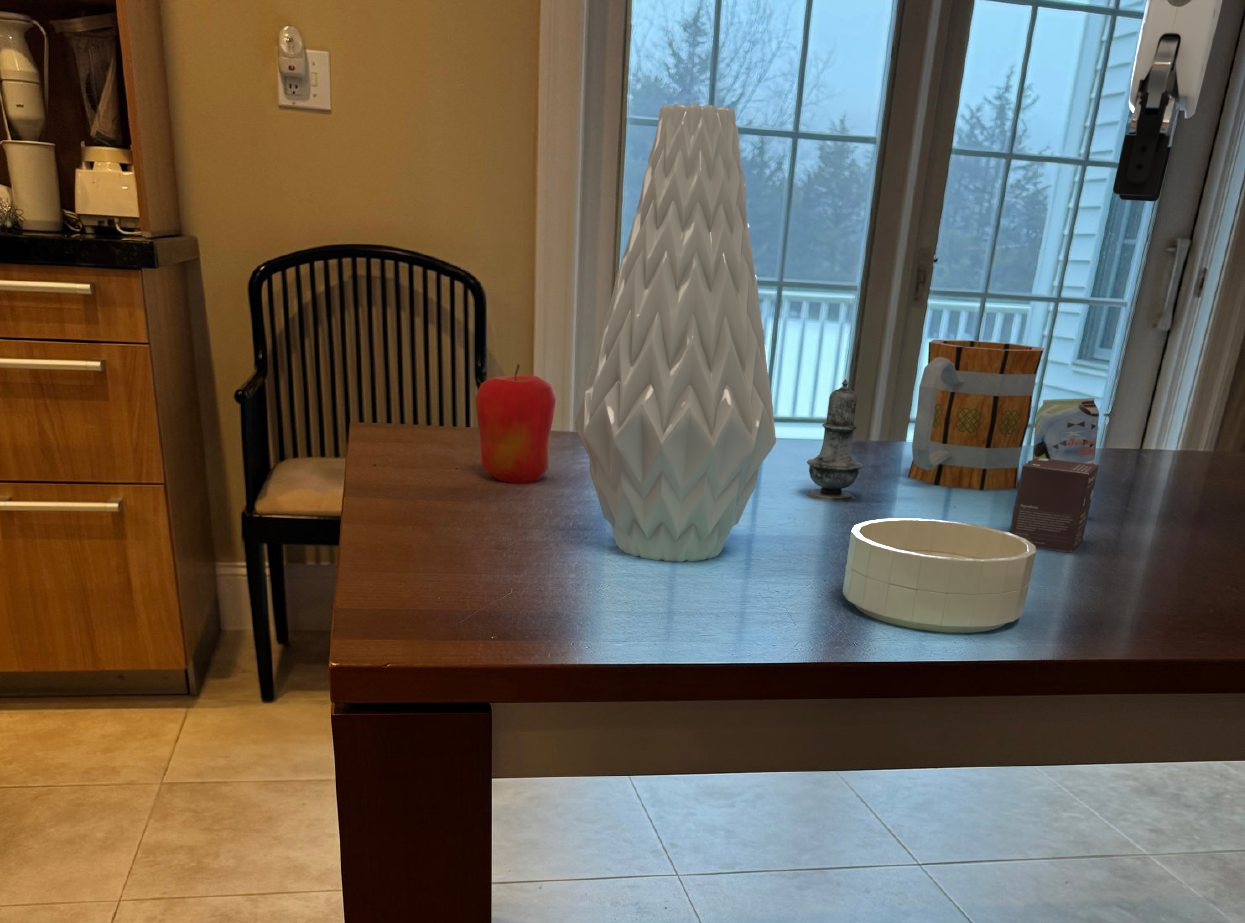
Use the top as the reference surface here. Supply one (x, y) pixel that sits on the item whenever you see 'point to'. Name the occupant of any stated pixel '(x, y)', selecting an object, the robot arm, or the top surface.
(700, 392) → the vase
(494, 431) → the apple
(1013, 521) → the box
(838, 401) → the salt shaker
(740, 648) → the top surface
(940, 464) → the mug
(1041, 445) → the beverage can
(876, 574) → the bowl
